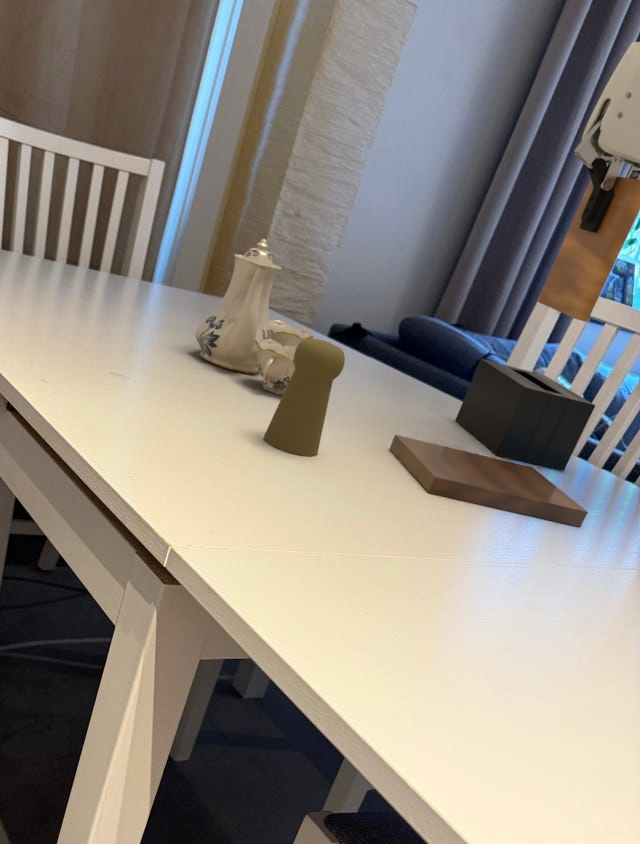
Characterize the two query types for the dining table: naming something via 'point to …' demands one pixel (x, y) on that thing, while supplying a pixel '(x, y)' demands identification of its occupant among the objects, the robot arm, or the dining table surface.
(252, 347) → the chinaware
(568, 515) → the breadboard
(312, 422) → the cork
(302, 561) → the dining table surface
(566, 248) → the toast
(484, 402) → the grooved black box
